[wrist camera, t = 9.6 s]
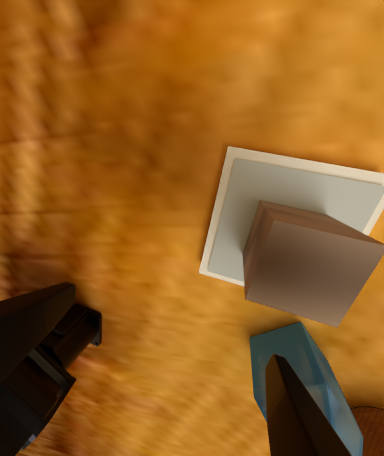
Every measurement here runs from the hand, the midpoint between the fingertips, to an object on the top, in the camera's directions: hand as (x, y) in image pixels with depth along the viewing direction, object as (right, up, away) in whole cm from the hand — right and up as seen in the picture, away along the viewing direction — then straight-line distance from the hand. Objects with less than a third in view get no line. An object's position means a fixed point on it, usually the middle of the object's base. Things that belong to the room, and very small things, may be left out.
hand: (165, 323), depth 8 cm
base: (+9, +4, +9) cm, 14 cm away
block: (+8, +3, +7) cm, 12 cm away
